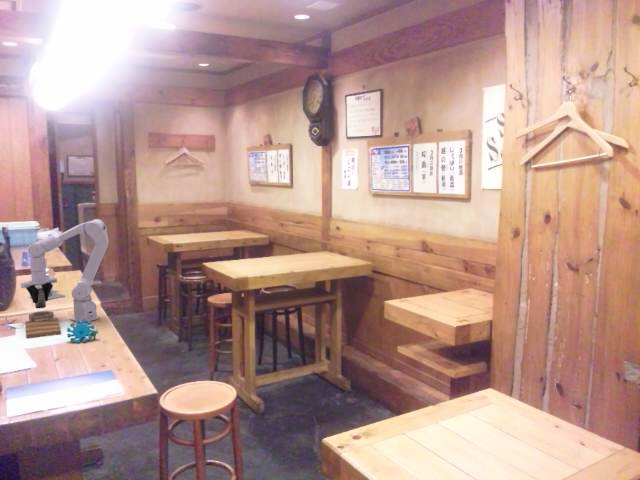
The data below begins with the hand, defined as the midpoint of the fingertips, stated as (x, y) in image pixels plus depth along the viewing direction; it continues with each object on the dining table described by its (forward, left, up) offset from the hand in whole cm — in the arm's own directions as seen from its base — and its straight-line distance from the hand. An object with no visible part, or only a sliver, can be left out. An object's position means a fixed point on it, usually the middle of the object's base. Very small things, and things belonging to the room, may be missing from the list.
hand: (40, 301), depth 230 cm
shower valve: (+40, -24, -9) cm, 48 cm away
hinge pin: (0, 0, -2) cm, 2 cm away
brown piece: (-9, +4, -8) cm, 13 cm away
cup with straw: (+48, -29, -9) cm, 56 cm away
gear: (-39, +4, -9) cm, 40 cm away
